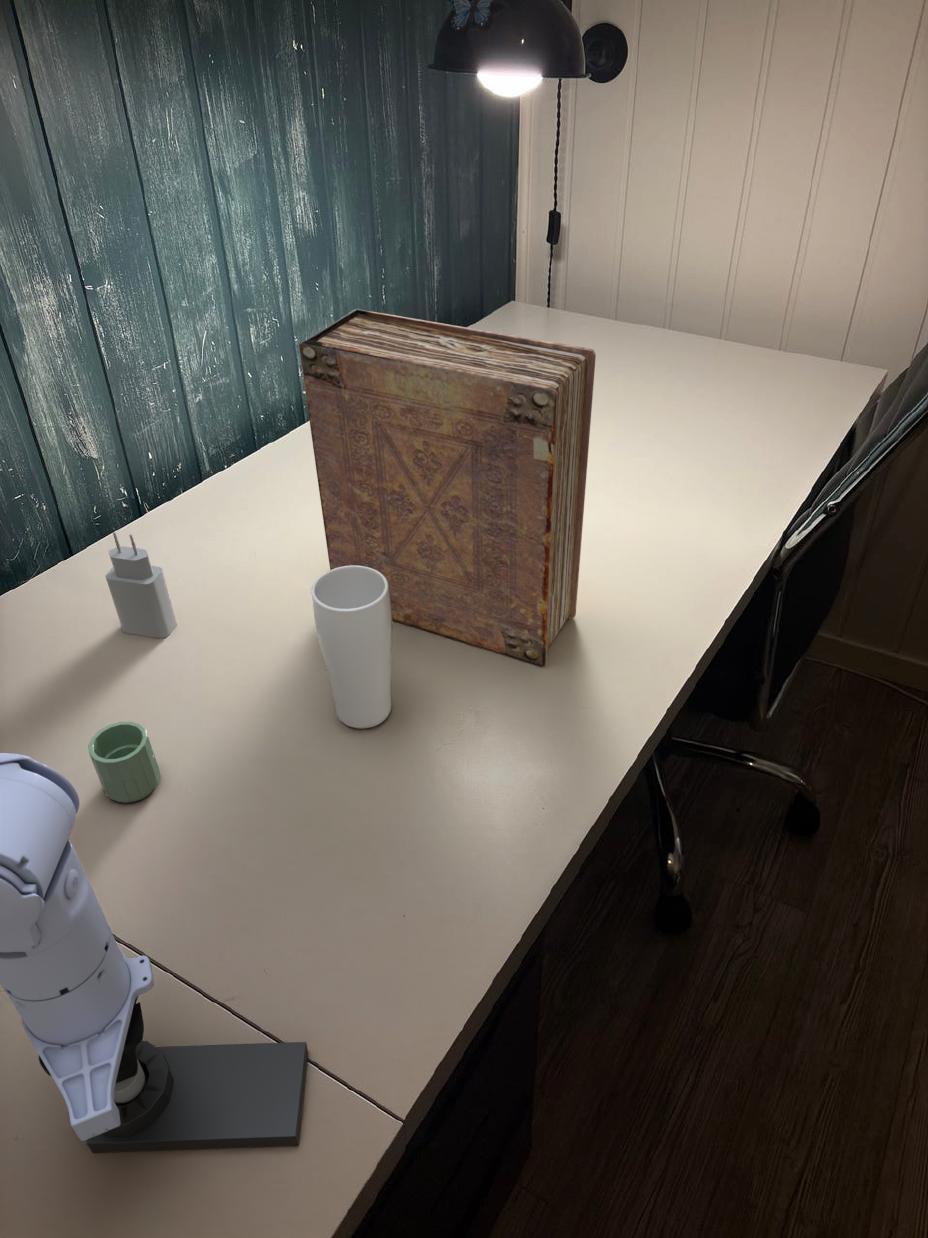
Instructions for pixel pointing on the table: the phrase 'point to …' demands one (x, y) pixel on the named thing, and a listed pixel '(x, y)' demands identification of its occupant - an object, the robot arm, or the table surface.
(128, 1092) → the button
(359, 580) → the drinking glass
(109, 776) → the green faceted cup
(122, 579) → the power adapter
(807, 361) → the table surface
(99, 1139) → the scale
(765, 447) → the table surface
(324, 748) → the table surface
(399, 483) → the book
